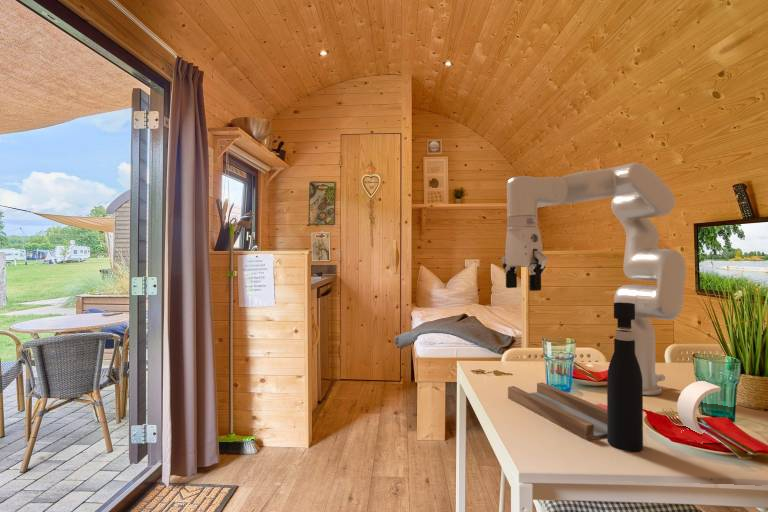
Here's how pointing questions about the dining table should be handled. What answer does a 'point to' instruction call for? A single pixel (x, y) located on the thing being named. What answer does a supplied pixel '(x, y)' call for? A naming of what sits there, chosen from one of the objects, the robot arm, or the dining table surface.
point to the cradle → (564, 410)
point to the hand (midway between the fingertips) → (522, 289)
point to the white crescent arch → (693, 403)
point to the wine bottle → (624, 386)
